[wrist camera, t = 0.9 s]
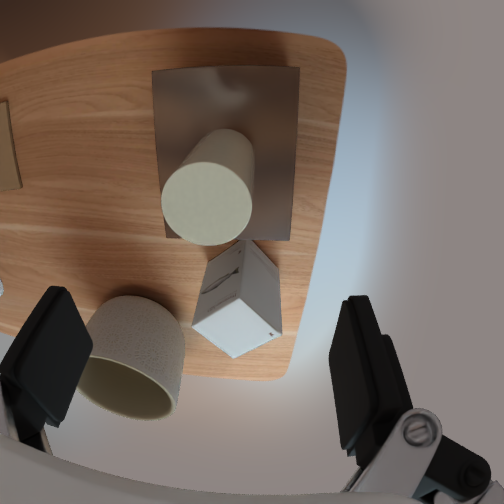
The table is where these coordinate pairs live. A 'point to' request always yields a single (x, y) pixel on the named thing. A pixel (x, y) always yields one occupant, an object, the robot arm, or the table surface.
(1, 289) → the french press
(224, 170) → the cream mug
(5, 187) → the mat
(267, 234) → the brown lidded box
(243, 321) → the white packaging box
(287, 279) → the table surface
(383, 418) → the robot arm
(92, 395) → the planter
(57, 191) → the table surface
